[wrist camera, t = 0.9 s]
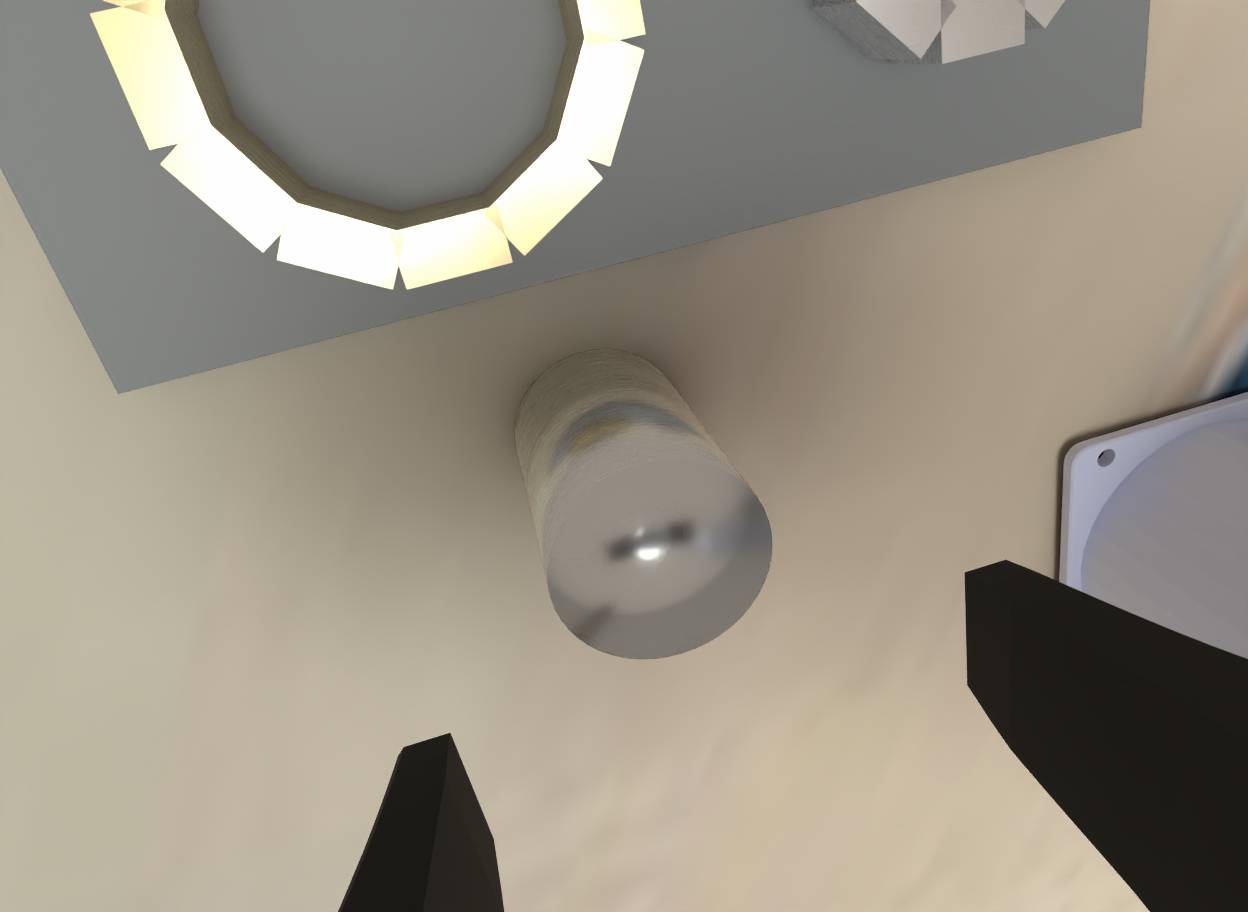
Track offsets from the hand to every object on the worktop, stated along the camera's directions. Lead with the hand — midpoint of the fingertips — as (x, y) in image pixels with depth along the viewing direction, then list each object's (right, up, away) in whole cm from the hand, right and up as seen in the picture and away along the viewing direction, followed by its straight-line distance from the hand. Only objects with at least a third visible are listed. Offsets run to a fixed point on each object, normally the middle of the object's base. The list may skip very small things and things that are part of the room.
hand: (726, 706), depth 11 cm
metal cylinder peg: (-2, +4, +9) cm, 10 cm away
